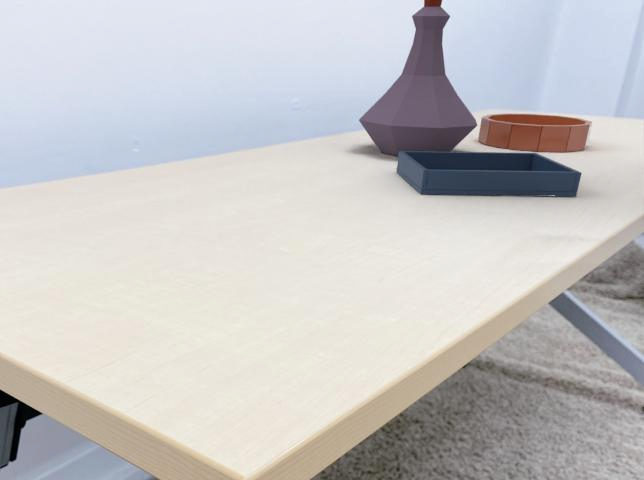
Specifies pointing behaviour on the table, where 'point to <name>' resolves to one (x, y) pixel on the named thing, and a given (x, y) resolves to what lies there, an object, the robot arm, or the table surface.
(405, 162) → the tray
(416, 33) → the flask
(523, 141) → the bowl
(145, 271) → the table surface
